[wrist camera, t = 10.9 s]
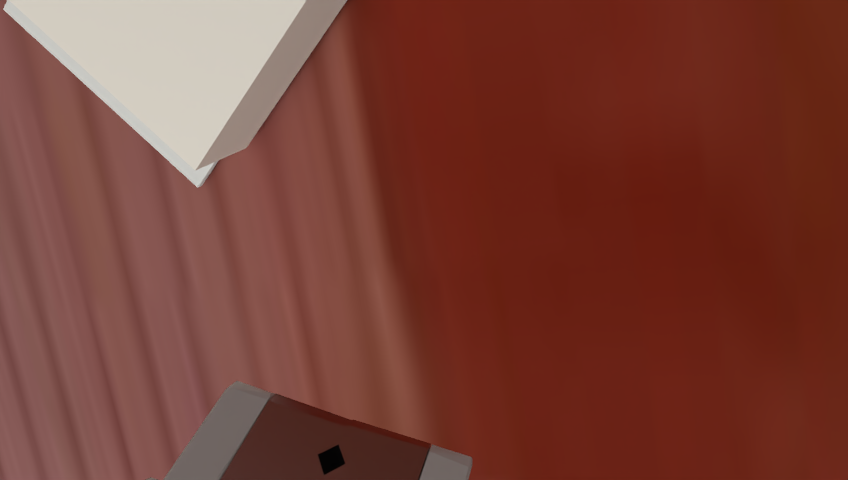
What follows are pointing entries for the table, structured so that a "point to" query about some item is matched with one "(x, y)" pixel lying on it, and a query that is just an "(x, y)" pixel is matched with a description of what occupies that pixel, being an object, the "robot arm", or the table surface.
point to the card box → (190, 61)
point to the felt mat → (109, 98)
